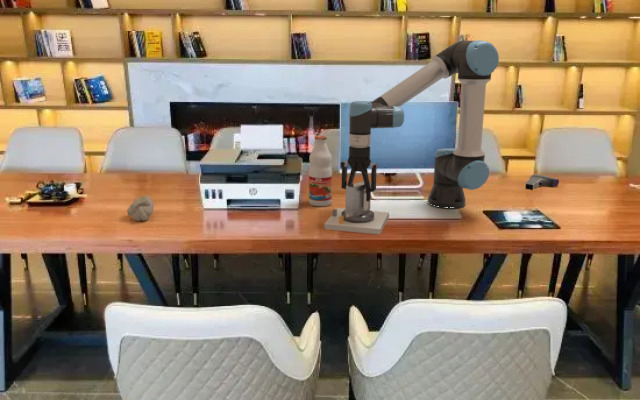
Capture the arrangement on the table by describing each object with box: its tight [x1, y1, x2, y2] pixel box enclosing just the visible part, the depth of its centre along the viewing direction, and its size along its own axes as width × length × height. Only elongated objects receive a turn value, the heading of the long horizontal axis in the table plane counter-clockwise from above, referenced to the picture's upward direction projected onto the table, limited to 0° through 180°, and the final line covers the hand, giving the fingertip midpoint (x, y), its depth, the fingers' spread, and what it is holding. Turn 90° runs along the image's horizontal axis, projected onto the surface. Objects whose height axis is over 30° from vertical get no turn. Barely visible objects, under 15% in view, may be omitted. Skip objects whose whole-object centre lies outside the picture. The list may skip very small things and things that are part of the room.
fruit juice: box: [308, 134, 333, 207], centre depth 218 cm, size 9×9×28 cm
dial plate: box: [323, 207, 390, 235], centre depth 198 cm, size 20×20×4 cm
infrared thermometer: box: [525, 173, 560, 191], centre depth 249 cm, size 5×12×15 cm
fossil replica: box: [126, 194, 155, 222], centre depth 201 cm, size 12×8×10 cm
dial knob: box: [342, 180, 374, 222], centre depth 196 cm, size 12×12×12 cm
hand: (358, 208), depth 197 cm, fingers closed on dial knob, 5 cm apart
